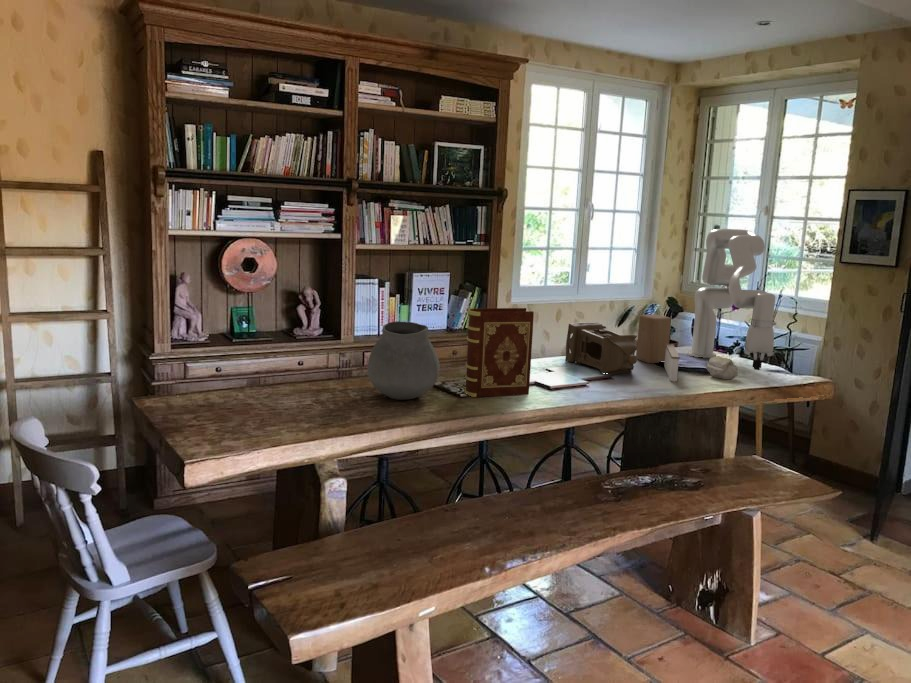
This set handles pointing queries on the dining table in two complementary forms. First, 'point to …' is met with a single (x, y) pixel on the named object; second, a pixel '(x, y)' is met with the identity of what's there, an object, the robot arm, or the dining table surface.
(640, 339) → the wooden block
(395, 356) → the ceramic pot
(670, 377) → the grey board
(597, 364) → the brown machine part
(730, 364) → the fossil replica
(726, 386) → the dining table surface
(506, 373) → the decorative book
